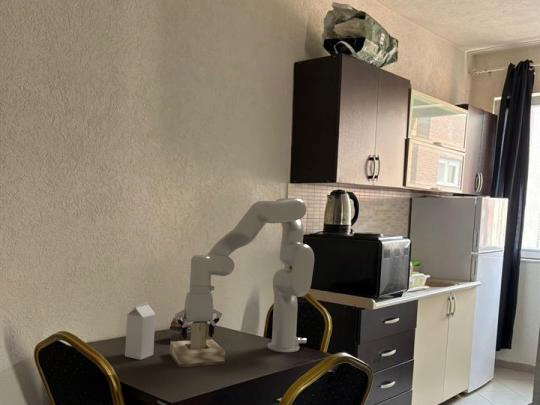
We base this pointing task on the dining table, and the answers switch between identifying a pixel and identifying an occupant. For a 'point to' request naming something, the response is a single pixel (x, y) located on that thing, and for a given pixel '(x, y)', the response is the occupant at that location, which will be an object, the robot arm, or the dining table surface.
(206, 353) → the socket block
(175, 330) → the cupcake
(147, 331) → the milk carton
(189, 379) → the dining table surface
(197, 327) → the skincare box
